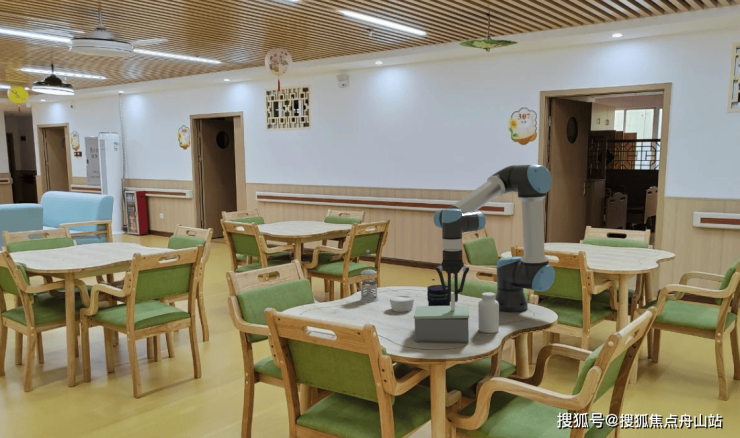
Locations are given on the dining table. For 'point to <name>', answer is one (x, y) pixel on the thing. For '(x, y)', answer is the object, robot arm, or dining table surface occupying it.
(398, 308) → the ramekin
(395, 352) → the dining table surface
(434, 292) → the storage jar
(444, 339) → the storage box
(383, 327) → the dining table surface
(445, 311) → the box lid
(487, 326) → the pill bottle
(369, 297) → the french press
